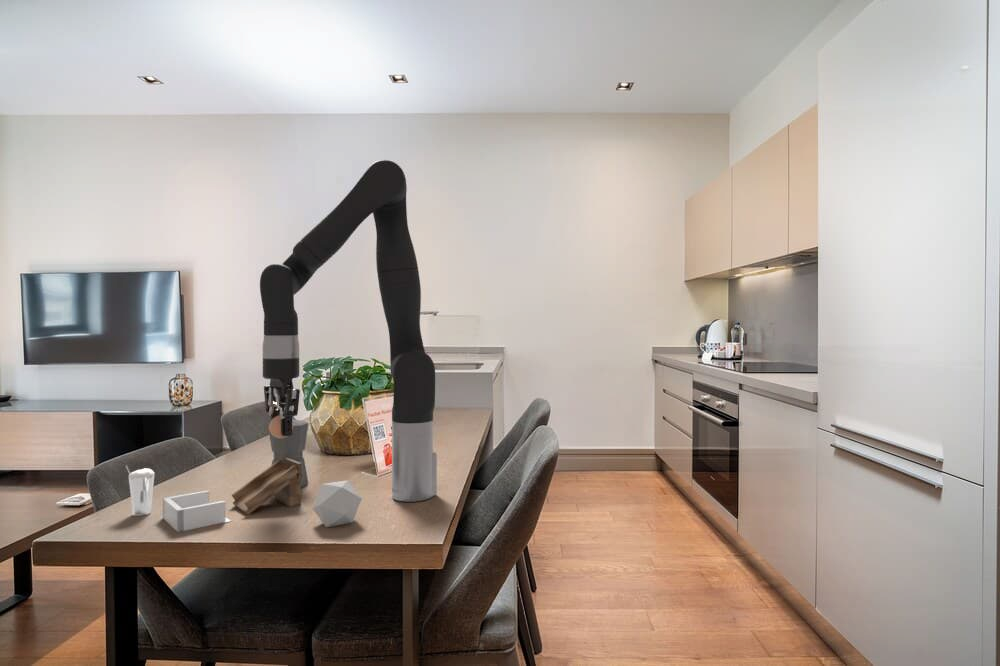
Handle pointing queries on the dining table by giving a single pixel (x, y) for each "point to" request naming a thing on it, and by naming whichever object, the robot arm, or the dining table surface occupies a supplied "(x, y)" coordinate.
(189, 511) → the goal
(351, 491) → the die
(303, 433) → the coffeepot
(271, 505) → the dining table surface
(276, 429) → the ball
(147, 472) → the milkshake
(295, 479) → the ramp
